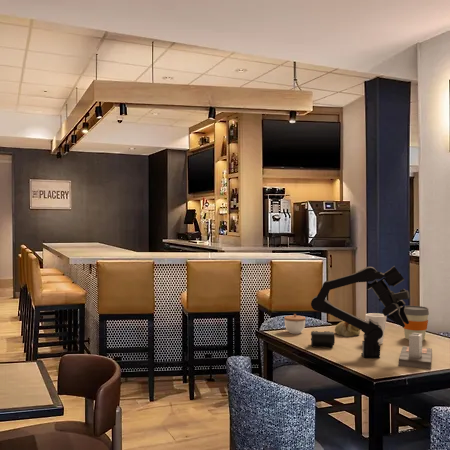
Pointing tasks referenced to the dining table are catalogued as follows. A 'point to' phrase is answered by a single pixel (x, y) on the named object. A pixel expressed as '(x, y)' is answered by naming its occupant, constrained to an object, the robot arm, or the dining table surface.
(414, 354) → the grey upright block
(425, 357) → the post board
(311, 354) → the dining table surface
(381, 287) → the robot arm
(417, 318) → the reusable coffee cup
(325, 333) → the end cap
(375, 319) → the foam cup
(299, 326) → the lidded jar
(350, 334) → the pastry
